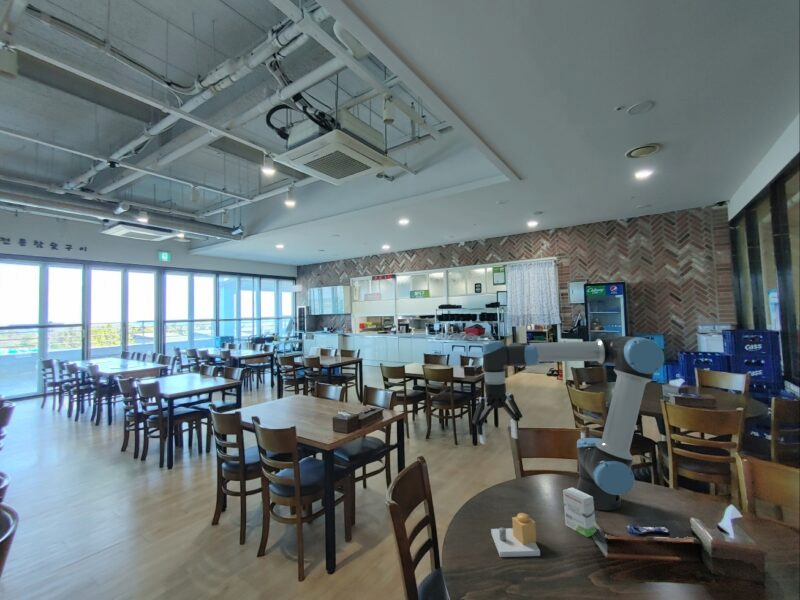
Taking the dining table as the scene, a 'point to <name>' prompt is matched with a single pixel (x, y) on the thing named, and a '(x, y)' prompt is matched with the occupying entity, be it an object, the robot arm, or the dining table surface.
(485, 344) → the robot arm
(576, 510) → the ink box
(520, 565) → the dining table surface
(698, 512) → the dining table surface
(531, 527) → the tan stud block
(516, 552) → the plate
